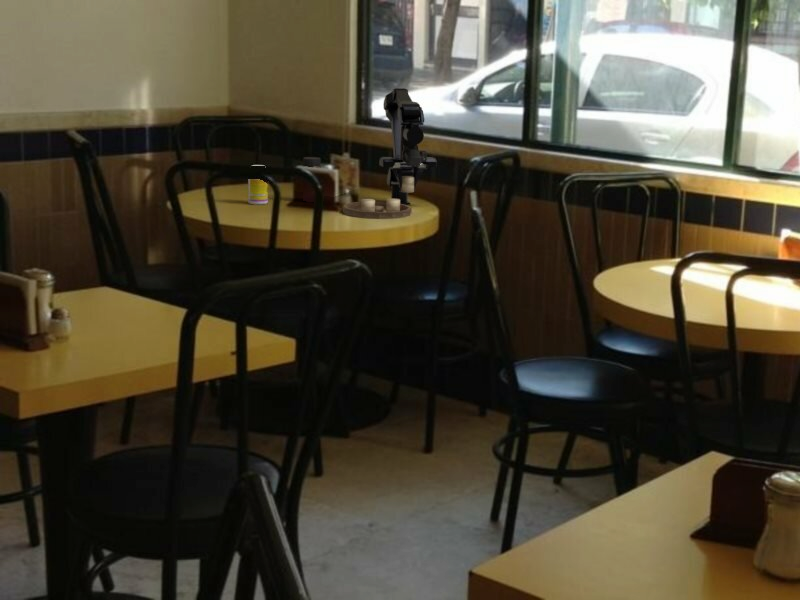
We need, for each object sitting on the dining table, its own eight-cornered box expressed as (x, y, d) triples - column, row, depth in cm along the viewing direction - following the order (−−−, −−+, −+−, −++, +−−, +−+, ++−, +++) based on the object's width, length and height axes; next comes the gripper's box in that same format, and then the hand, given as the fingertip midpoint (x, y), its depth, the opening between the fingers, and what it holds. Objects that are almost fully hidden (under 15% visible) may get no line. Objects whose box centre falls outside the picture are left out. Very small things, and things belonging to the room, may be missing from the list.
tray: (337, 210, 429) (337, 201, 429) (400, 209, 435) (401, 201, 434) (352, 221, 409) (352, 212, 408) (418, 220, 414) (419, 212, 414)
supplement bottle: (270, 204, 436) (270, 166, 433) (251, 205, 434) (251, 167, 431) (264, 201, 442) (265, 164, 439) (245, 202, 440) (246, 164, 437)
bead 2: (384, 213, 420) (385, 198, 419) (397, 213, 421) (398, 198, 420) (388, 216, 416) (388, 200, 415) (401, 215, 417) (401, 200, 416)
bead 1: (359, 214, 418) (360, 198, 417) (372, 214, 419) (373, 198, 418) (362, 216, 414) (363, 201, 413) (376, 216, 415) (376, 200, 414)
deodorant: (300, 200, 447) (301, 157, 444) (316, 199, 450) (317, 157, 446) (305, 203, 442) (306, 159, 439) (321, 202, 444) (322, 159, 441)
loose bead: (399, 190, 435) (399, 176, 434) (411, 190, 437) (412, 175, 435) (402, 192, 431) (403, 177, 430) (415, 192, 432) (415, 177, 431)
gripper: (387, 144, 420) (386, 191, 424) (442, 144, 425) (440, 191, 429) (379, 140, 431) (378, 186, 434) (433, 140, 436) (431, 186, 439)
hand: (407, 187), depth 434 cm, fingers closed on loose bead, 4 cm apart
